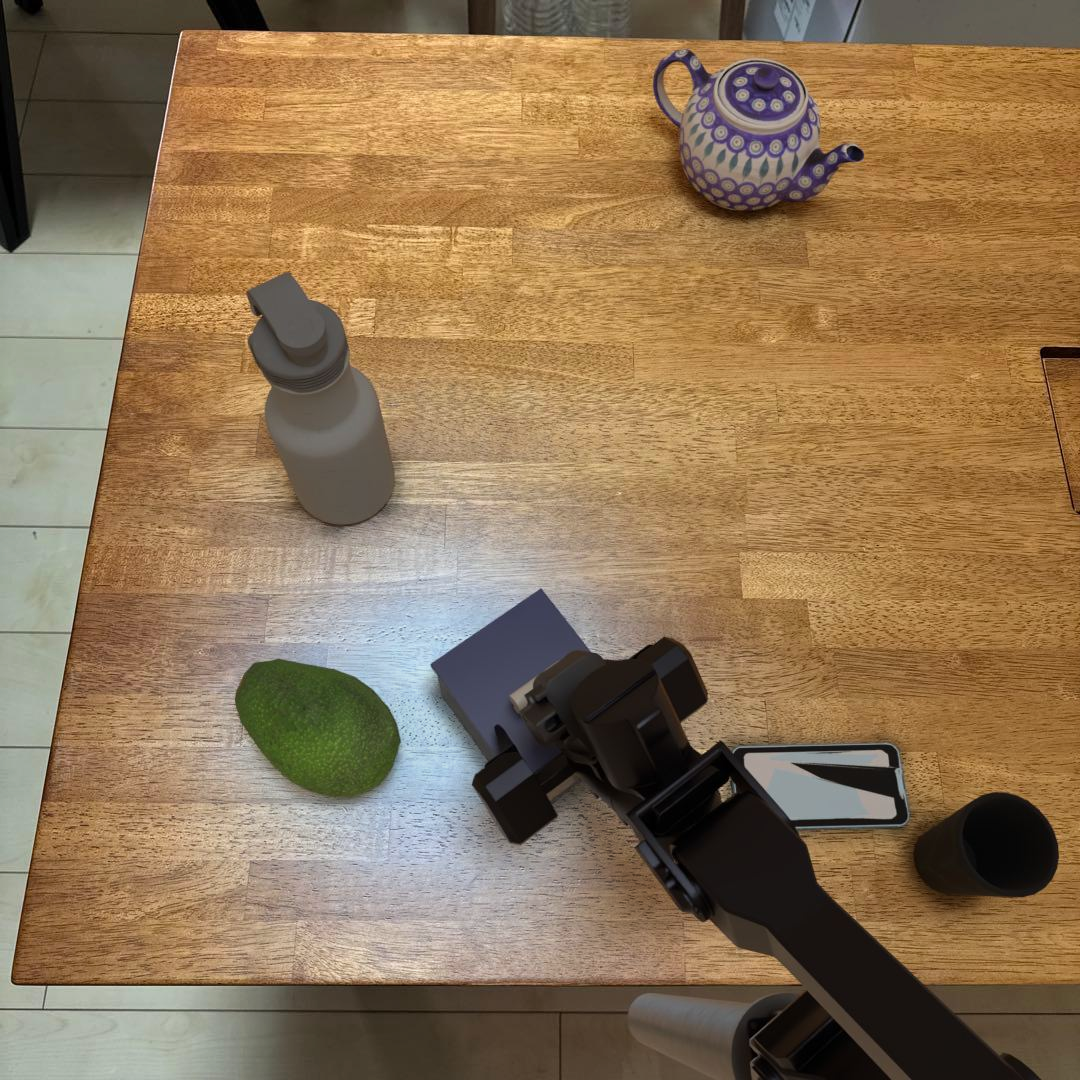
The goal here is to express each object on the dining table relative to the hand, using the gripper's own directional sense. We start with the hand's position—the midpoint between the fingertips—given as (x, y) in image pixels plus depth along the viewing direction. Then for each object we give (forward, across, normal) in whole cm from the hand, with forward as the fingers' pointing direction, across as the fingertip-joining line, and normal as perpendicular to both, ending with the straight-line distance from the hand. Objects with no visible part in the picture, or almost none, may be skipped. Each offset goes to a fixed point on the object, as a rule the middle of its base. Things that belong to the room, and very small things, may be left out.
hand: (544, 696), depth 83 cm
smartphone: (-7, -16, +20) cm, 27 cm away
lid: (+2, 0, +1) cm, 3 cm away
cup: (-15, -21, +28) cm, 38 cm away
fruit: (+14, +16, -1) cm, 21 cm away
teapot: (+33, -56, -20) cm, 68 cm away
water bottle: (+28, +1, -15) cm, 32 cm away
